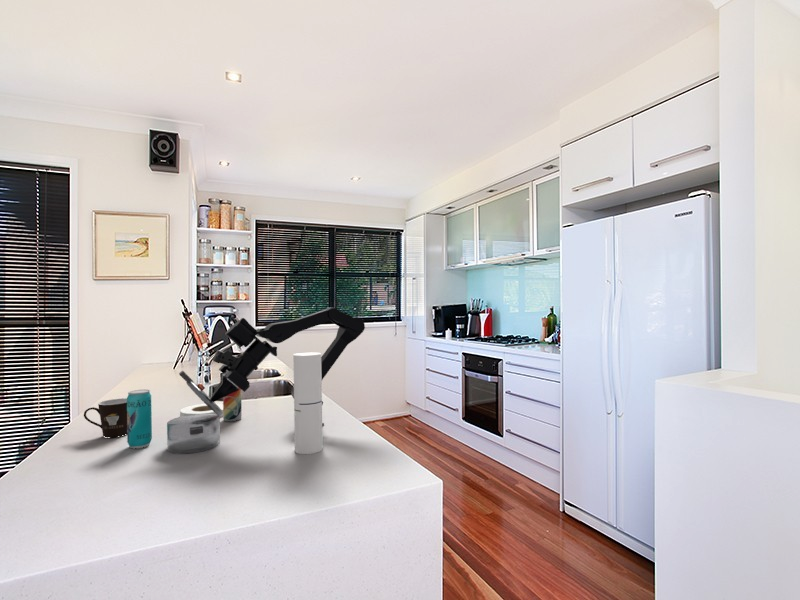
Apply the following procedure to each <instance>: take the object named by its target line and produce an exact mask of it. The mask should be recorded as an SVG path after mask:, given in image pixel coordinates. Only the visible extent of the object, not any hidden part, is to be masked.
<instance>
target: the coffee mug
mask: <svg viewBox="0 0 800 600" xmlns="http://www.w3.org/2000/svg"><path fill="white" fill-rule="evenodd" d="M97 404H98V408H97V407H94V406H93V407H89V408H87V409H86V410H84V412H83V418H84V419H85V420H86V421H87V422H89V423H90V424H93V425H95V426H97V427H99V428H100V429H101V430H102V431H101V432H102V437H103V436H105V437H118V436H122V435H125V434H127V397H125V398H124V397H123V398H114V399H113V398H112V399H108V400H102V401H99V402H98V403H97ZM92 410H93V411H96V412H97V413H98V415H99V417H100V423H98V422H95V421H93V420H91V419H90V418H88V417H87V413H88V412H89V411H92ZM125 436H126V435H125ZM122 437H123V436H122ZM118 438H119V437H118Z"/></svg>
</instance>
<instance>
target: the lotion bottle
mask: <svg viewBox="0 0 800 600" xmlns="http://www.w3.org/2000/svg"><path fill="white" fill-rule="evenodd" d="M238 388H239V387H238ZM239 389H240V388H239ZM222 404H223V417H222V418H223V421H224V422H228V421H231V422H236V420H237V421H240V420H241V419H242V418H243V417H242V415H243V414H242V411H243V409H242V390H241V389H240V390H239V391H236V392H233V393H231V394H229V395H227V396H225V397H223V398H222Z"/></svg>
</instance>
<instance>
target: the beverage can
mask: <svg viewBox="0 0 800 600" xmlns="http://www.w3.org/2000/svg"><path fill="white" fill-rule="evenodd" d="M127 394H128V395H127V397H126V398H127V435H126V437H127V438H126V439H127V440H126V442H127V445H128V446H129V448H130V449H131V448H133V449H132V450H136V449H135V448H140V449H144V448H147V447H148V445H149V446H150V445H151V442H152V439H153V438H152V437H153V435H152V434H153V431H152V429H153V424H152V422H153V420H152V419H153V418H152V416H153V415H152V394H151V390H150V389H137V390H131V391H128V392H127ZM146 446H147V447H146ZM143 447H144V448H143Z"/></svg>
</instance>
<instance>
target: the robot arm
mask: <svg viewBox="0 0 800 600" xmlns="http://www.w3.org/2000/svg"><path fill="white" fill-rule="evenodd" d="M328 322H332V323H333V324H335V325H336V326H338V329H337V331H336V336H335V338H334V339H333V341H332V342H331V343H330V345H329V346H328V347H327V349H325V352H324V353H323V354H322V355H321V373H322V381H323V380H324V378H325V377H326V376H327V374H328V373H329V371H330V370H331V369H332V367H333V366H334V364H335V363H336V362H337V360H338V359H339V358H340V356H341V355H342V353H344V350H345V349H346V348H347V347H348V345H349V344H350V343H352V342H353V341H355V340H356V339H357V338H359V336H361V335H362V334H363V332H364V330H365V329H366V326H365V322H364V320H363V319H362V318H361V317H358V316H353V315H352V316H351V315H350V314H347V313H345V312H343V311H341V310H339V309H337V308H336V307H326V308H324V309H322V310H320V311H317V312H314V313H310V314H308V315H305V316H302V317H299V318H296V319H293V320H287V321H279V322H273V323H269V324H267V325H266V326H265V327H264V328H257V329H256V328H254V327H253V325H251V324H250V323H249V321H248V320H247V319H245V318H244V317H242V318H240V319H239V320H238V321H236V323H234V324H233V325H231V326H230V327H229V328H228V329H227V331H225V334H224V335H225V336H226V337H228V338H229V340H230V341H232V342H233V343H234V344H235V345H236V346H238V347H239V348H242V347H243V348H246V349H245V350H244V351H243V352H242V353H238V354H236V355H233V352H232V351H229V350H225V351H221V350H219V349H217V350H216V352H215V353H214V356H213V357H212V361H213V362H214V363H217V364H222V365H221V366H220V367H218V371H220V373H219V377H220V378H219V379H220V380H219V384H218V385H217V386H216V388H215V390H214V392H213V394H211V396H210V400H211V401H212V402H215V403H216V402H217V401H218V400H221V399H223V397H225V396H227V395H229V394H231V393H233V392H236V391H239V390H240V389H241V391H242V392H244V393H245V392H247V390H248V389H249V388H250V387H251V386H250V381H249V378H248V377H249V376H250V375H251V374H252V373H253V372H254V371H257V370H258V369H259V367H258V366H259V365H261V364H262V362H263V361H264V360H265V359H266V357H268V355H269V354H271V356H274V357H277V356H278V351H277V350H278V347H277V346H274V345H273V346H272V345H271V344H270V343H273V344H280V343H283V342H285V341H287V340H289V339H290V338H292V337H293V336H294V335H296V334H298V333H299V332H302V331H305V330H308V329H311V328H313V327H317V326H320V325H321V324H325V323H328ZM258 337H259V338H261V339H265V340H263V341H262V340H260V339H259V338H258ZM292 386H293V387H292V389H291V392H290V393H291V397H292V398H293V400H294V383H292ZM238 387H239V388H240V389H239V388H238ZM323 404H324V402H323V400H322V406H324V405H323ZM323 426H325V423H324V422H322V427H323Z"/></svg>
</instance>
